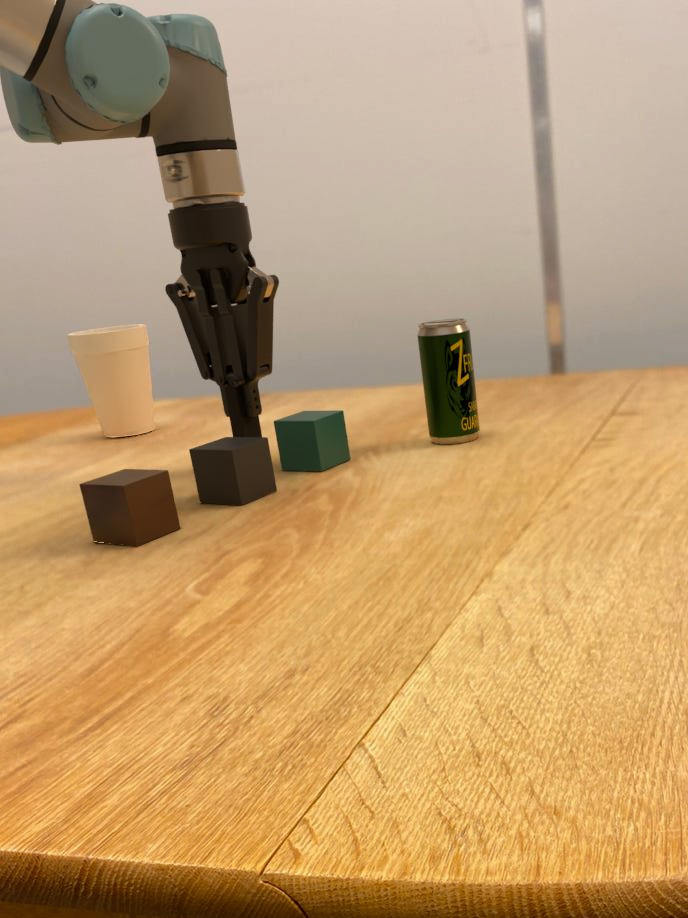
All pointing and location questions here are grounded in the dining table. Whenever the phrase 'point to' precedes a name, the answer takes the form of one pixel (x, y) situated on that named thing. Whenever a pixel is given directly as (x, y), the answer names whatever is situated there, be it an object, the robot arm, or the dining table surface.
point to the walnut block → (130, 506)
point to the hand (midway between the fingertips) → (249, 447)
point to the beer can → (448, 381)
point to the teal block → (312, 440)
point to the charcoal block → (233, 470)
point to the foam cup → (117, 376)
